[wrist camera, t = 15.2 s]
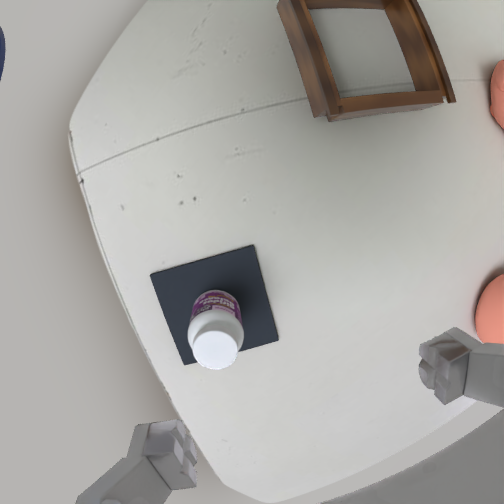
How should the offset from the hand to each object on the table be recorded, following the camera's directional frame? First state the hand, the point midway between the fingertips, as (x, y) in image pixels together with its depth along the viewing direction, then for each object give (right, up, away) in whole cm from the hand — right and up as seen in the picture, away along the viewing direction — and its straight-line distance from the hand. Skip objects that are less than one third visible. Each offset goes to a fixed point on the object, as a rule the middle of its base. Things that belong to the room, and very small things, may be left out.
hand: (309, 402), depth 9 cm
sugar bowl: (+39, -4, +33) cm, 51 cm away
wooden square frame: (+11, +30, +23) cm, 39 cm away
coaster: (-6, -2, +27) cm, 28 cm away
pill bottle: (-6, -2, +27) cm, 28 cm away
